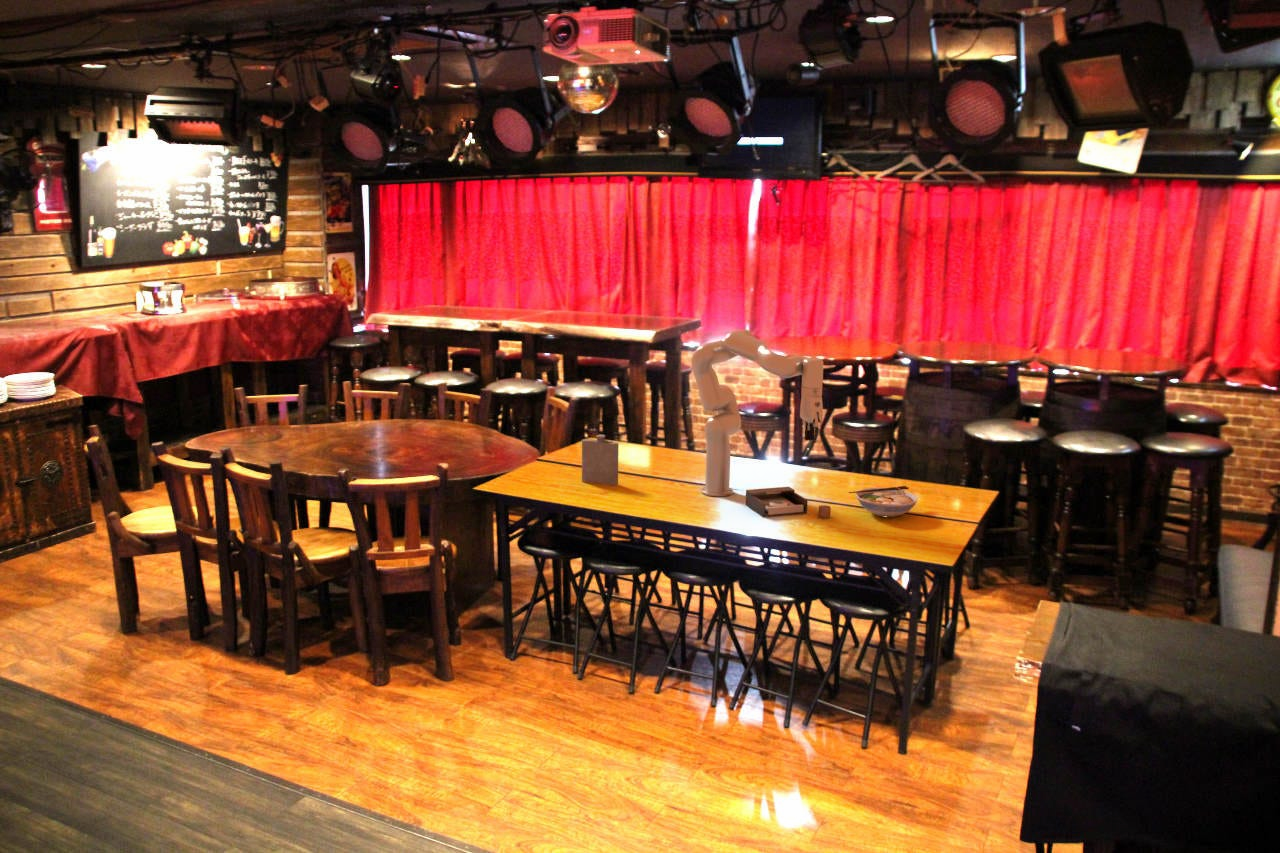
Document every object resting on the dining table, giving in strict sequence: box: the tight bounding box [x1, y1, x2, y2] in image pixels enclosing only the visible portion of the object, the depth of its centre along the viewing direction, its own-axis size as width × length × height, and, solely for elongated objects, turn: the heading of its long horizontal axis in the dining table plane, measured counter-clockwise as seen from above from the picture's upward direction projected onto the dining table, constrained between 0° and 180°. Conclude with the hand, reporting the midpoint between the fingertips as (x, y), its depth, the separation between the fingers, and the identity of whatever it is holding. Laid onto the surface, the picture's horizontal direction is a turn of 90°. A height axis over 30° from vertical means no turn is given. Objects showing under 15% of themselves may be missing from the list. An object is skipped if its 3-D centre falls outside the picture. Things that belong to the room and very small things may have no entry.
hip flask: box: [581, 434, 619, 487], centre depth 426 cm, size 16×4×20 cm, turn 68°
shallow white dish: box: [769, 500, 788, 507], centre depth 393 cm, size 7×7×2 cm
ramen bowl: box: [848, 485, 919, 518], centre depth 390 cm, size 25×23×8 cm
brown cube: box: [817, 504, 832, 520], centre depth 386 cm, size 4×4×4 cm
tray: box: [759, 497, 804, 515], centre depth 394 cm, size 16×14×2 cm
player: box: [745, 486, 808, 518], centre depth 395 cm, size 16×18×6 cm
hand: (809, 439), depth 390 cm, fingers closed
